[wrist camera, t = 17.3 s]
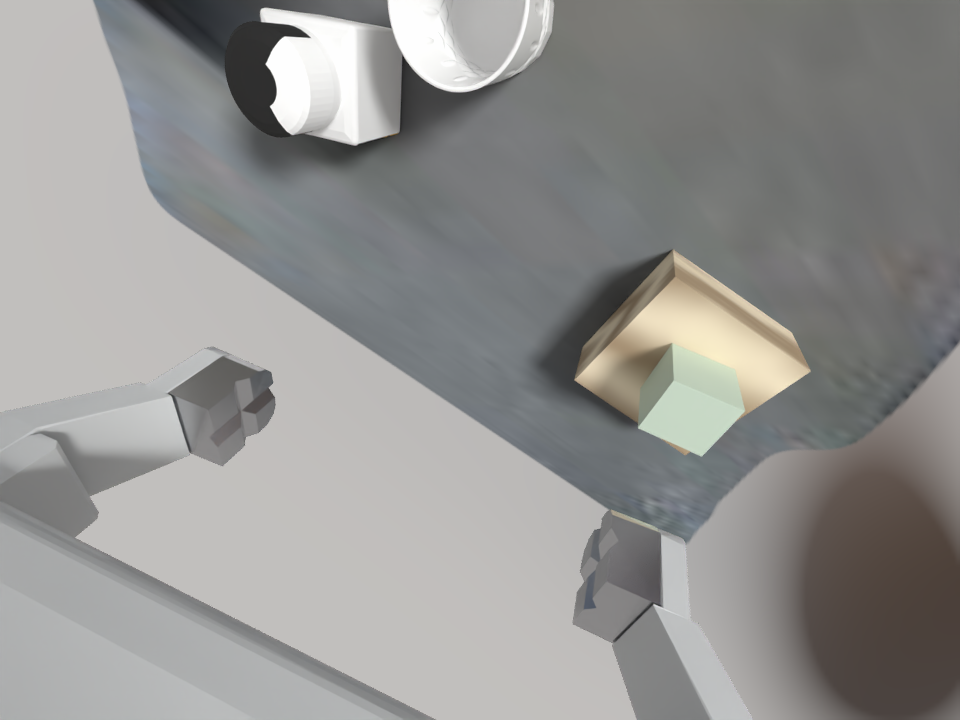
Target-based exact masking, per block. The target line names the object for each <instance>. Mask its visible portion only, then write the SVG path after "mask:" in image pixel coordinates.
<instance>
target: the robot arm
mask: <svg viewBox="0 0 960 720" xmlns="http://www.w3.org/2000/svg"><path fill="white" fill-rule="evenodd" d="M272 384H273V380H272V374H271V372H269V371H267V370H265V369H263V368H261V367H259V366H256V365H254V364H252V363H249V362H247V361H245V360H243V359H240V358H238V357H236V356H233V355H231V354H229V353H226V352H224V351H222V350H219V349H217V348H215V347H210V348H204V349H203V350H201V351H199V352H198V353H196V354H194V355H193V356H191V357H190V358H188V359H186V360H185V361H183V362H182V363H180V364H179V365H177V366H175V367H174V368H172V369H171V370H169V371H167V372H166V373H164V374H163V375H161V376H159V377H158V378H156V379H155V380H153V381H152V382H150V383H148V384H143V383H135V384H131V385H126V386H121V387H116V388H112V389H108V390H102V391H98V392H93V393H88V394H84V395H79V396H74V397H70V398H66V399H60V400H56V401H51V402H46V403H42V404H37V405H32V406H27V407H23V408H19V409H14V410H9V411H4V412H0V720H435V719H434V718H431V717H430V716H427V715H426V714H423V713H421V712H420V711H418V710H415V709H414V708H412V707H410V706H408V705H406V704H404V703H402V702H400V701H398V700H396V699H394V698H392V697H390V696H388V695H386V694H384V693H382V692H380V691H378V690H376V689H374V688H372V687H370V686H368V685H366V684H364V683H362V682H360V681H358V680H356V679H354V678H352V677H350V676H348V675H346V674H344V673H342V672H340V671H338V670H336V669H334V668H332V667H330V666H328V665H326V664H324V663H322V662H320V661H318V660H316V659H314V658H312V657H310V656H308V655H306V654H304V653H303V652H300V651H299V650H297V649H295V648H292V647H291V646H289V645H287V644H285V643H282V642H280V641H279V640H277V639H274V638H273V637H271V636H269V635H266V634H265V633H262V632H261V631H259V630H256V629H255V628H253V627H251V626H249V625H247V624H245V623H243V622H241V621H239V620H237V619H235V618H233V617H231V616H229V615H227V614H225V613H223V612H221V611H219V610H217V609H215V608H213V607H211V606H209V605H207V604H205V603H203V602H201V601H199V600H197V599H195V598H193V597H191V596H189V595H187V594H185V593H183V592H181V591H179V590H177V589H175V588H173V587H171V586H169V585H168V584H166V583H164V582H162V581H160V580H157V579H156V578H153V577H152V576H150V575H148V574H146V573H144V572H142V571H140V570H138V569H136V568H134V567H132V566H130V565H128V564H126V563H124V562H122V561H120V560H118V559H116V558H114V557H112V556H110V555H108V554H106V553H104V552H102V551H100V550H98V549H96V548H94V547H92V546H90V545H88V544H86V543H84V542H82V541H80V540H78V539H76V538H75V537H76V536H77V535H78V534H80V533H81V532H82V531H83V530H84V529H85V528H87V527H88V526H89V525H90V524H92V523H93V522H94V521H95V520H96V519H97V518H98V513H99V512H98V510H97V509H96V507H95V505H94V503H93V502H92V500H91V498H90V496H92V495H94V494H97V493H99V492H101V491H104V490H106V489H109V488H111V487H114V486H116V485H118V484H121V483H123V482H126V481H128V480H130V479H133V478H135V477H138V476H140V475H143V474H145V473H148V472H150V471H152V470H155V469H157V468H160V467H162V466H164V465H167V464H169V463H172V462H174V461H177V460H179V459H182V458H184V457H186V456H189V455H190V453H192V454H194V455H197V456H199V457H201V458H204V459H206V460H208V461H211V462H213V463H216V464H218V465H221V466H223V465H224V464H225V463H227V462H228V461H229V460H230V459H231V458H232V457H233V456H234V455H235V454H236V453H237V452H238V451H240V450H241V449H242V448H243V447H244V445H245V439H246V437H247V436H251V435H254V434H257V433H259V432H260V431H261V430H262V429H263V428H264V427H265V426H266V425H267V424H268V422H269V420H270V419H271V417H272V415H273V414H274V409H275V397H274V396H273V394H272V393H271V391H270V389H269V387H270V386H271V385H272ZM580 573H581V575H582V577H583V579H584V583H583V585H582V586H581V587H580V589H579V590H578V592H577V596H576V603H575V610H574V617H573V624H574V625H576V626H578V627H580V628H582V629H584V630H587V631H589V632H591V633H593V634H595V635H597V636H599V637H601V638H603V639H605V640H607V641H609V642H611V643H613V645H612V647H613V650H614V653H615V656H616V659H617V662H618V665H619V668H620V671H621V674H622V677H623V680H624V682H625V685H626V688H627V692H628V695H629V698H630V701H631V704H632V707H633V710H634V712H635V715H636V718H637V720H753V718H752V717H751V715H750V713H749V711H748V710H747V708H746V706H745V705H744V703H743V701H742V699H741V697H740V696H739V694H738V692H737V691H736V689H735V687H734V685H733V683H732V682H731V680H730V678H729V676H728V674H727V673H726V671H725V669H724V667H723V666H722V664H721V662H720V660H719V659H718V657H717V655H716V653H715V652H714V650H713V648H712V646H711V645H710V643H709V641H708V639H707V637H706V636H705V634H704V632H703V630H702V629H701V627H700V625H699V624H698V623H696V622H694V621H692V620H691V616H690V602H689V587H688V572H687V557H686V544H685V542H684V540H683V538H680V537H678V536H675V535H673V534H670V533H668V532H665V531H663V530H661V529H657V528H656V527H654V526H652V525H649V524H647V523H644V522H641V521H639V520H636V519H634V518H631V517H629V516H626V515H624V514H621V513H619V512H616V511H613V510H611V509H610V510H609V511H607V512H606V514H605V515H604V516H603V518H602V523H601V528H600V529H597V530H594V532H593V533H592V535H591V536H590V538H589V540H588V543H587V545H586V548H585V550H584V555H583V559H582V563H581V570H580Z"/></svg>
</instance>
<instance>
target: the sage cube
mask: <svg viewBox="0 0 960 720" xmlns="http://www.w3.org/2000/svg"><path fill="white" fill-rule="evenodd" d="M744 412H745V408H744V404H743V400H742V396H741V392H740V387H739V383H738V379H737V375H736V371H735V369H733V368H730V367H728V366H726V365H723V364H721V363H718V362H716V361H714V360H711V359H709V358H707V357H704V356H702V355H699V354H697V353H695V352H692V351H690V350H688V349H685V348H683V347H681V346H678V345H676V344H673V343H672V344H671V346H670V347H669V348H668V350H667V351H666V353H665V354H664V355H663V357H662V358H661V360H660V361H659V363H658V364H657V365H656V367H655V368H654V370H653V371H652V373H651V374H650V375H649V377H648V378H647V380H646V381H645V383H644V384H643V385H642V387H641V388H640V401H639V417H638V428H639V429H641V430H644V431H646V432H648V433H650V434H653V435H655V436H657V437H659V438H662V439H664V440H666V441H668V442H671V443H673V444H675V445H677V446H679V447H682V448H684V449H686V450H688V451H691V452H693V453H695V454H697V455H700V456H703V455H704V454H705V453H706V452H707V451H708V450H709V448H710V447H711V446H712V445H713V444H714V443H715V442H716V441H717V440H718V439H719V438H720V437H721V436H722V435H723V434H724V433H725V432H726V431H727V430H728V429H729V428H730V426H731V425H732V424H733V423H734V422H735V421H736V420H737V419H738V418H739V417H740V416H741V415H742V414H743V413H744Z"/></svg>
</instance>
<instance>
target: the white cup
mask: <svg viewBox="0 0 960 720" xmlns="http://www.w3.org/2000/svg"><path fill="white" fill-rule="evenodd" d="M388 11H389V17H390V22H391V27H392V30H393V34H394V37H395V39H396V42H397V44H398V47H399V49H400V51H401V53H402V54H403V56H404V58H405V59H406V61H407V62H408V64H409V65H410V66H411V68H412V69H413V70H414V71H415V72H416V73H417V74H418V75H419V76H420V77H421V78H422V79H424V80H425V81H426V82H428V83H429V84H431V85H433V86H435V87H437V88H439V89H442V90H445V91H449V92H469V91H473V90H476V89H479V88H482V87H485V86H488V85H491V84H494V83H497V82H500V81H503V80H505V79H507V78H510V77H512V76H514V75H515V74H517V73H519V72H522V71H524V70H525V69H526V68H527V67H528V66H530V65H531V64H532V63H533V62H534V61H535V60H536V59H537V58H539V57H540V55H541V53H542V51H543V49H544V47H545V45H546V43H547V41H548V39H549V37H550V35H551V32H552V23H553V13H554V1H553V0H388Z"/></svg>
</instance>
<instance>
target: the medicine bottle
mask: <svg viewBox="0 0 960 720" xmlns="http://www.w3.org/2000/svg"><path fill="white" fill-rule="evenodd" d="M260 17H261V22H257V21H252V22H246V23H244V24H242V25H240V26H239V27H237V29H236V30H235V31H234V32H233V33H232V35H231V37H230V39H229V41H228V45H227V48H226V53H225V72H226V78H227V82H228V85H229V88H230V91H231V94H232V96H233V98H234V100H235V102H236V104H237V105H238V107H239V108H240V110H241V111H242V113H243V114H244V115H245V116H246V117H247V119H248V120H249V121H250V122H251V123H252V124H253V125H254V126H256V127H257V128H258V129H260V130H261V131H263V132H264V133H266V134H269V135H271V136H275V137H289V136H294V135H299V134H303V133H304V134H309V135H313V136H317V137H321V138H325V139H329V140H333V141H337V142H341V143H346V144H350V145H354V146H357V145H360V144H364V143H367V142H371V141H374V140H378V139H381V138H385V137H388V136H392V135H395V134H398V133H399V131H400V111H401V79H402V53H401V51H400V49H399V47H398V44H397V42H396V39H395V37H394V34H393V30H392V28H387V27H382V26H376V25H371V24H366V23H360V22H355V21H350V20H344V19H339V18H334V17H329V16H323V15H316V14H308V13H301V12H293V11H286V10H278V9H271V8H263V9H261V11H260Z"/></svg>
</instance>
